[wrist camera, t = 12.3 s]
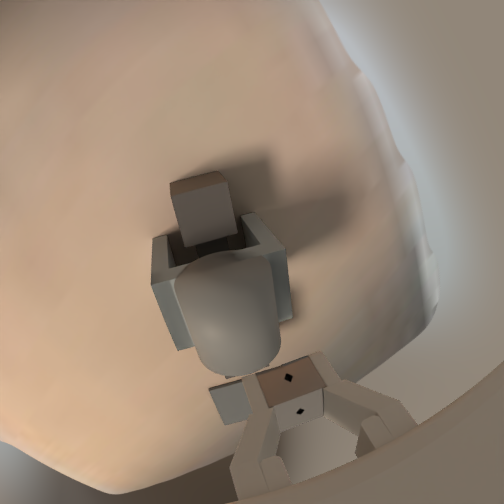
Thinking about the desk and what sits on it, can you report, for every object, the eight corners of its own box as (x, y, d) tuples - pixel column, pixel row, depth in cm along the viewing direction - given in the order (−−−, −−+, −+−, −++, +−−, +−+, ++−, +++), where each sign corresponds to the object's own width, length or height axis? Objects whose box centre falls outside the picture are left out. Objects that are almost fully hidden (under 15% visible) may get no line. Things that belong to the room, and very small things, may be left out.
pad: (208, 388, 35) (209, 391, 35) (278, 368, 37) (279, 370, 36) (224, 423, 39) (224, 425, 39) (283, 405, 41) (284, 407, 41)
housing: (152, 238, 25) (150, 324, 15) (254, 212, 27) (311, 279, 17) (171, 295, 28) (183, 391, 18) (263, 270, 30) (314, 352, 20)
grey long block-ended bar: (166, 184, 24) (167, 199, 20) (220, 169, 24) (232, 182, 21) (220, 358, 33) (229, 387, 29) (258, 346, 34) (271, 374, 30)
